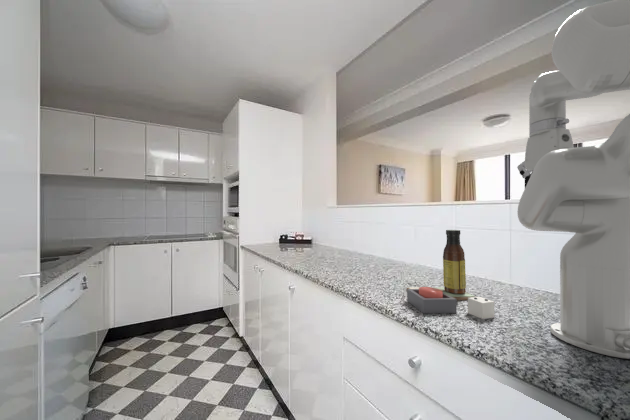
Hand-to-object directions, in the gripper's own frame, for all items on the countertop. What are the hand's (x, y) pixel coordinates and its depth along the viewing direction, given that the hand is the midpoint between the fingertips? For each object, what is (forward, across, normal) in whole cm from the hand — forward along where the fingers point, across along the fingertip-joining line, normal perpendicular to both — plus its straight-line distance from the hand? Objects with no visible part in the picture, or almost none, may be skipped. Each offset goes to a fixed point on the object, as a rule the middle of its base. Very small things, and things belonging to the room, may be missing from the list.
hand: (546, 189), depth 69 cm
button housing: (+33, +2, +33) cm, 47 cm away
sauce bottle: (+32, +12, +20) cm, 40 cm away
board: (+33, +12, +24) cm, 43 cm away
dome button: (+32, +2, +33) cm, 46 cm away
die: (+33, -4, +23) cm, 41 cm away
